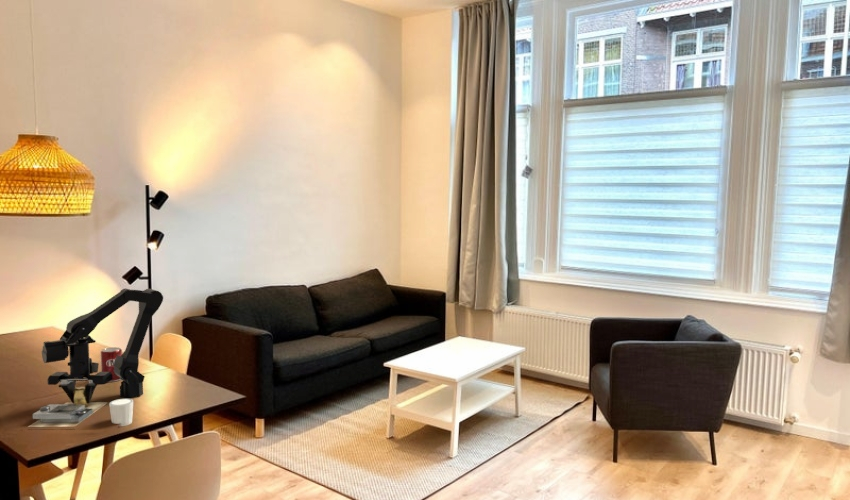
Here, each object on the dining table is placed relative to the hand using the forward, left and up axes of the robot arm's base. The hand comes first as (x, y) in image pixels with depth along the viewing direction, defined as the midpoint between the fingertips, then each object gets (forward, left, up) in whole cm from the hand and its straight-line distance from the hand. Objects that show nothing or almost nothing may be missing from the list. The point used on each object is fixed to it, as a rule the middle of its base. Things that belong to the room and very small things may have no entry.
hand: (81, 403), depth 205 cm
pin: (0, 0, -1) cm, 1 cm away
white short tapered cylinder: (-19, +13, -2) cm, 23 cm away
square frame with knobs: (0, +11, -2) cm, 11 cm away
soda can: (+5, -33, -2) cm, 33 cm away
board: (0, +7, -2) cm, 7 cm away
